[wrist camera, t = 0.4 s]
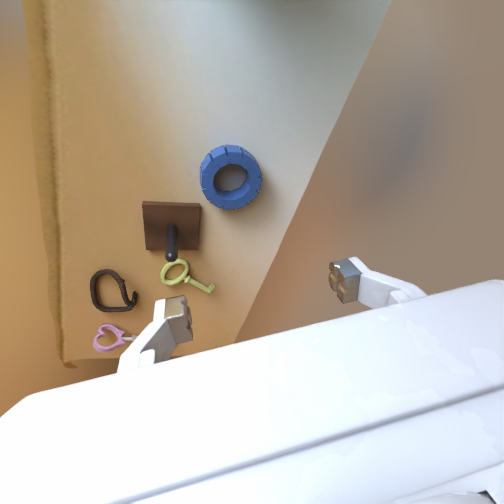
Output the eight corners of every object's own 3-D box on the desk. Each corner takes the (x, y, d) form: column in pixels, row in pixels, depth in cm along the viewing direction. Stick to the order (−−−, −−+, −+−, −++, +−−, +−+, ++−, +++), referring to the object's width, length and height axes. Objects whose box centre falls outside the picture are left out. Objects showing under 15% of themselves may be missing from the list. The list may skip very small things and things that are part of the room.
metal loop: (129, 327, 63) (78, 321, 58) (132, 308, 67) (84, 301, 62) (146, 290, 56) (90, 280, 51) (148, 270, 60) (96, 259, 55)
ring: (201, 142, 46) (202, 149, 44) (261, 147, 49) (266, 154, 46) (198, 199, 52) (200, 208, 50) (252, 201, 55) (256, 210, 52)
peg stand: (142, 201, 50) (136, 234, 42) (199, 203, 53) (203, 234, 45) (146, 246, 56) (141, 283, 48) (197, 246, 59) (201, 281, 50)
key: (211, 289, 67) (211, 295, 65) (157, 279, 62) (157, 286, 60) (222, 266, 63) (223, 272, 62) (166, 254, 58) (166, 260, 57)
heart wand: (175, 329, 77) (93, 327, 66) (177, 326, 76) (95, 323, 65) (180, 350, 72) (92, 352, 61) (181, 348, 72) (93, 349, 60)
